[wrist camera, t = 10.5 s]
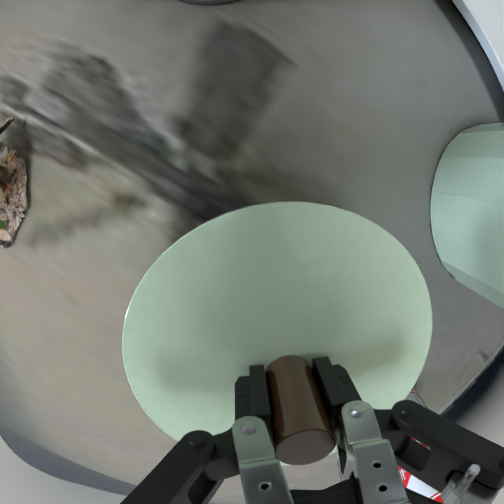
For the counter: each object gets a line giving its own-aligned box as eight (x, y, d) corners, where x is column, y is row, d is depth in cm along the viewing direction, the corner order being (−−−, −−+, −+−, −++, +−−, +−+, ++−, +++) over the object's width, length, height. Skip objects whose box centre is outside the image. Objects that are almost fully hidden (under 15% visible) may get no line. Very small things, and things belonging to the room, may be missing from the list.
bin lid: (98, 219, 13) (19, 252, 7) (432, 192, 14) (520, 209, 8) (168, 457, 17) (156, 527, 11) (397, 428, 18) (430, 488, 12)
